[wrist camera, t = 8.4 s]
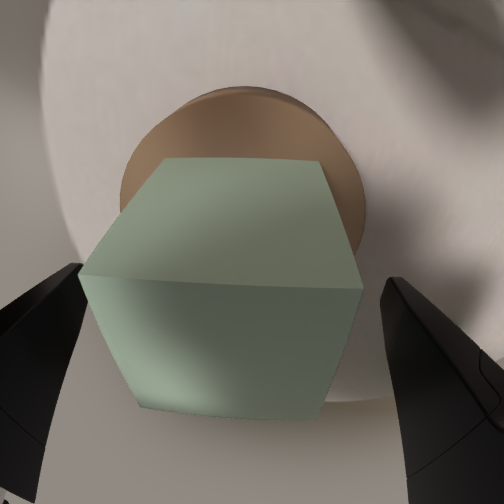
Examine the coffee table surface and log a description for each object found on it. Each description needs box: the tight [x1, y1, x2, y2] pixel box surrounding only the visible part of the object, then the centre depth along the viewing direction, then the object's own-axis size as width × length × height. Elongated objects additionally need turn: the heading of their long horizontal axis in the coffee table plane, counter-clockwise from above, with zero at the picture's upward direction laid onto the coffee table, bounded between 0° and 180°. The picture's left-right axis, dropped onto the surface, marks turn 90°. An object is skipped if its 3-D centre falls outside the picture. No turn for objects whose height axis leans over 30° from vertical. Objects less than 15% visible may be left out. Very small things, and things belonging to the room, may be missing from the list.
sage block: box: [78, 158, 364, 420], centre depth 9 cm, size 5×5×6 cm
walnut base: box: [120, 86, 365, 255], centre depth 13 cm, size 9×9×3 cm
